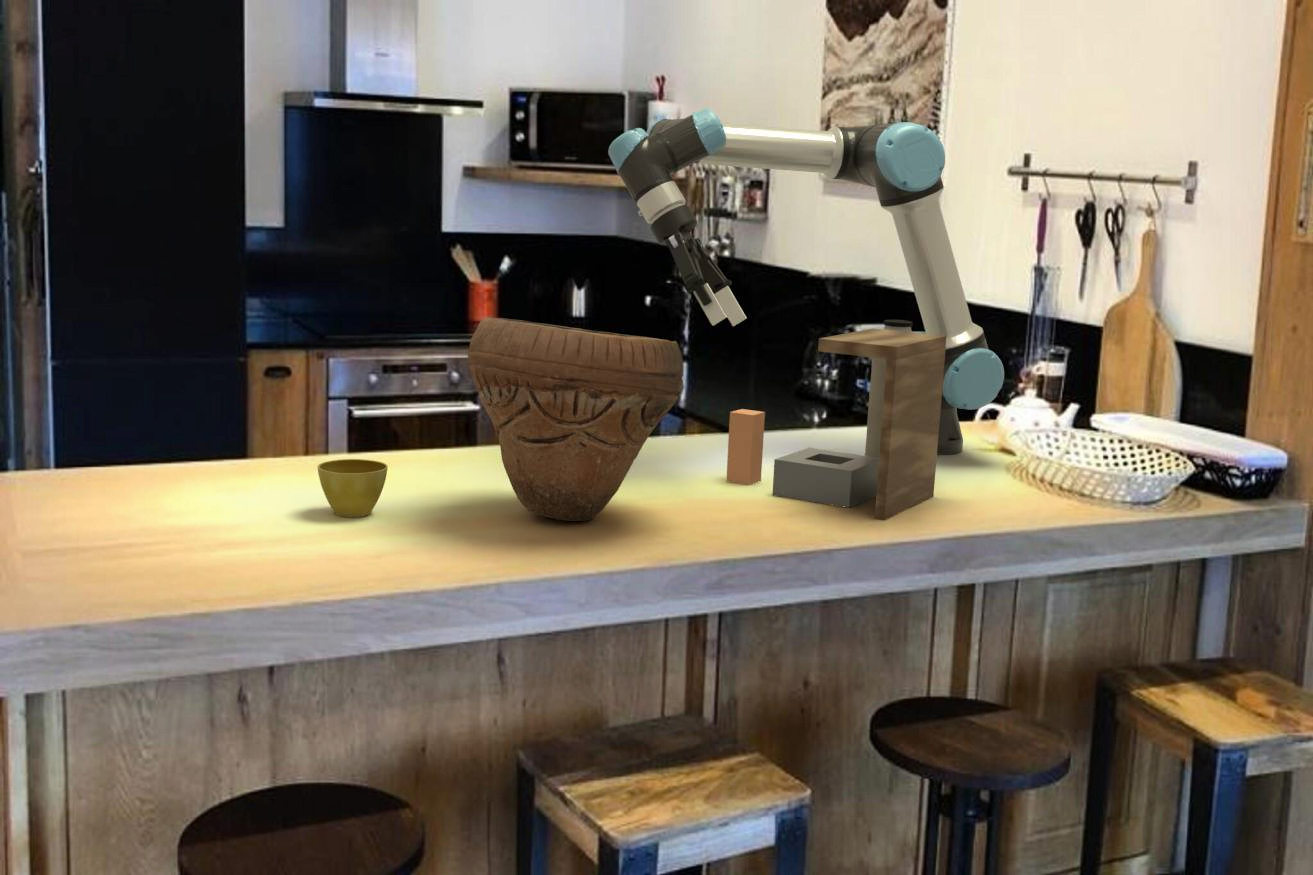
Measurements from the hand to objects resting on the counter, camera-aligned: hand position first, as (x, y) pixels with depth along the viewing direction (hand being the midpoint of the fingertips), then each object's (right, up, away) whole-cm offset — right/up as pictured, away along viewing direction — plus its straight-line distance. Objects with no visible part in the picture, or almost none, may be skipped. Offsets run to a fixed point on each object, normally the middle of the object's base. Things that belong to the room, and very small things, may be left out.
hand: (730, 322), depth 250 cm
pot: (-25, -31, -27) cm, 48 cm away
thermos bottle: (+28, -27, +11) cm, 40 cm away
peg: (+2, -27, +3) cm, 27 cm away
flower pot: (-57, -31, -32) cm, 72 cm away
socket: (+16, -29, -4) cm, 33 cm away
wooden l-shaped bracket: (+23, -30, -8) cm, 38 cm away
